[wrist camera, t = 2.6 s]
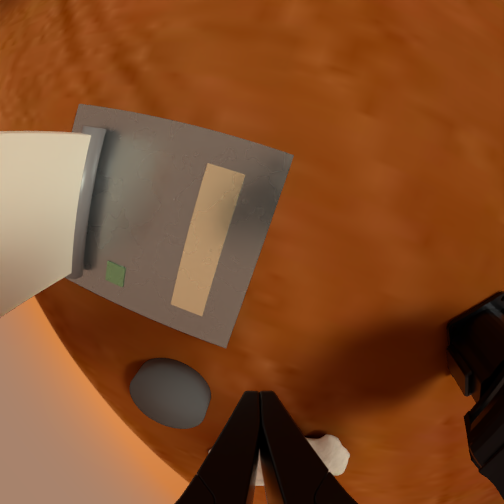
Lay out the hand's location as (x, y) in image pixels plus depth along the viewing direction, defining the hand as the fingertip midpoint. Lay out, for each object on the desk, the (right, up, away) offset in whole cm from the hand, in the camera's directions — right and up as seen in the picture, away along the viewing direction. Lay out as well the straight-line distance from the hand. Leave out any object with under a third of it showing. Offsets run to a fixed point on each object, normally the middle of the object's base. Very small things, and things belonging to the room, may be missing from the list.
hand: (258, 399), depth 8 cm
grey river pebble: (-7, -8, +16) cm, 20 cm away
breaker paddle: (-12, +8, +10) cm, 18 cm away
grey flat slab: (-7, +7, +12) cm, 15 cm away
